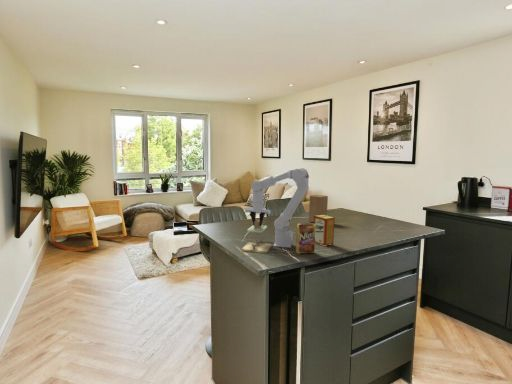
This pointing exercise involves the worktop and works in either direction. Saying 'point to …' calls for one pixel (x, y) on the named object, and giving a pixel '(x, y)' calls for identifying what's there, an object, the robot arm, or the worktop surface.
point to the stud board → (257, 247)
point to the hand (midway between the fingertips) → (257, 225)
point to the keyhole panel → (257, 227)
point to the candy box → (305, 238)
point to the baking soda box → (324, 229)
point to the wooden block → (317, 206)
